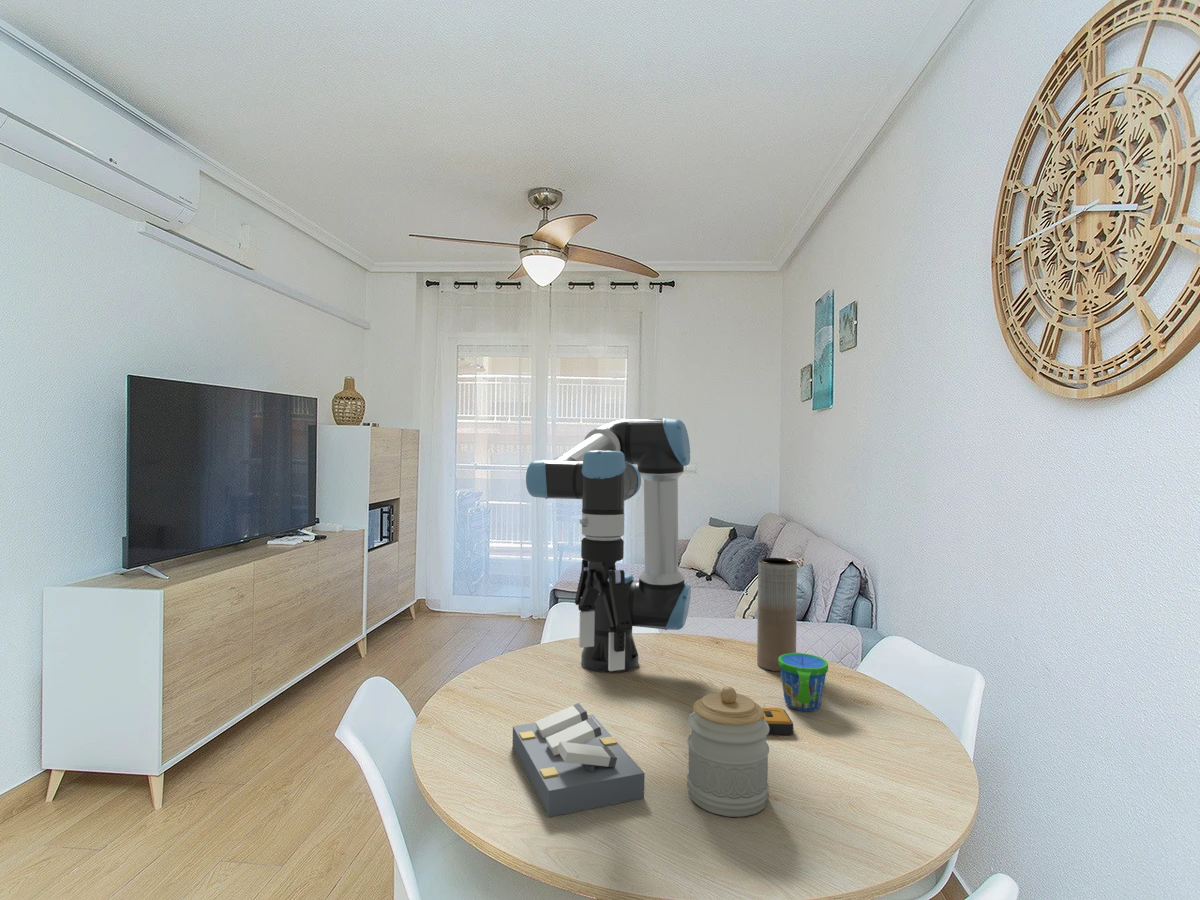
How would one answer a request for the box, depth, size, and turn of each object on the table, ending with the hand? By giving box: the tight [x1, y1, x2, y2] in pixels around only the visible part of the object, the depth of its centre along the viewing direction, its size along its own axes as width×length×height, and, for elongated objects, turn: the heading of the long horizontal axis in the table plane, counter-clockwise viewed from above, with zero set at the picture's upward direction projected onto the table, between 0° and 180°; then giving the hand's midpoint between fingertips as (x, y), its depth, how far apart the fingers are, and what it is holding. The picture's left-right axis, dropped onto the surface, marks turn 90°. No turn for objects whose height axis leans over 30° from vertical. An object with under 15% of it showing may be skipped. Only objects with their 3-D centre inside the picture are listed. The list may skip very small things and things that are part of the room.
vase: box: [756, 557, 798, 673], centre depth 165 cm, size 10×10×28 cm
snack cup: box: [778, 652, 829, 712], centre depth 139 cm, size 16×10×10 cm
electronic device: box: [762, 707, 794, 737], centre depth 128 cm, size 8×16×3 cm, turn 88°
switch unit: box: [512, 714, 646, 818], centre depth 109 cm, size 24×16×5 cm, turn 21°
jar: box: [686, 686, 770, 818], centre depth 102 cm, size 13×13×18 cm
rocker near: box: [557, 741, 618, 768], centre depth 102 cm, size 4×9×2 cm, turn 111°
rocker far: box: [534, 702, 589, 738], centre depth 115 cm, size 4×9×2 cm, turn 111°
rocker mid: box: [546, 718, 602, 756], centre depth 109 cm, size 4×9×2 cm, turn 111°
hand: (600, 657), depth 111 cm, fingers open, 13 cm apart
